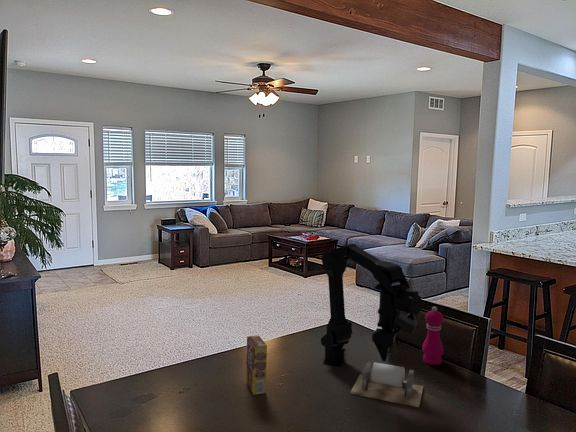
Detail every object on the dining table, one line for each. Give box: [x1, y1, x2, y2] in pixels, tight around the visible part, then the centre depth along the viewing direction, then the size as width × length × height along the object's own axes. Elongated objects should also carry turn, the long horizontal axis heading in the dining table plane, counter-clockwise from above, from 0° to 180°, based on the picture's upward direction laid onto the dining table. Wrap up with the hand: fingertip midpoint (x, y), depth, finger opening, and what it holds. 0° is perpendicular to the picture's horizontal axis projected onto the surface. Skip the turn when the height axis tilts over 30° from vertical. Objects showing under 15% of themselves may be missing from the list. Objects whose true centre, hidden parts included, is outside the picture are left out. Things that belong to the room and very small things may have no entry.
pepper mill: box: [421, 306, 444, 366], centre depth 159 cm, size 7×7×20 cm
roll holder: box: [350, 362, 424, 408], centre depth 138 cm, size 20×12×6 cm, turn 68°
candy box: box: [245, 334, 268, 396], centre depth 138 cm, size 9×4×15 cm, turn 20°
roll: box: [371, 362, 406, 388], centre depth 137 cm, size 9×6×6 cm, turn 68°
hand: (387, 355), depth 138 cm, fingers open, 9 cm apart
